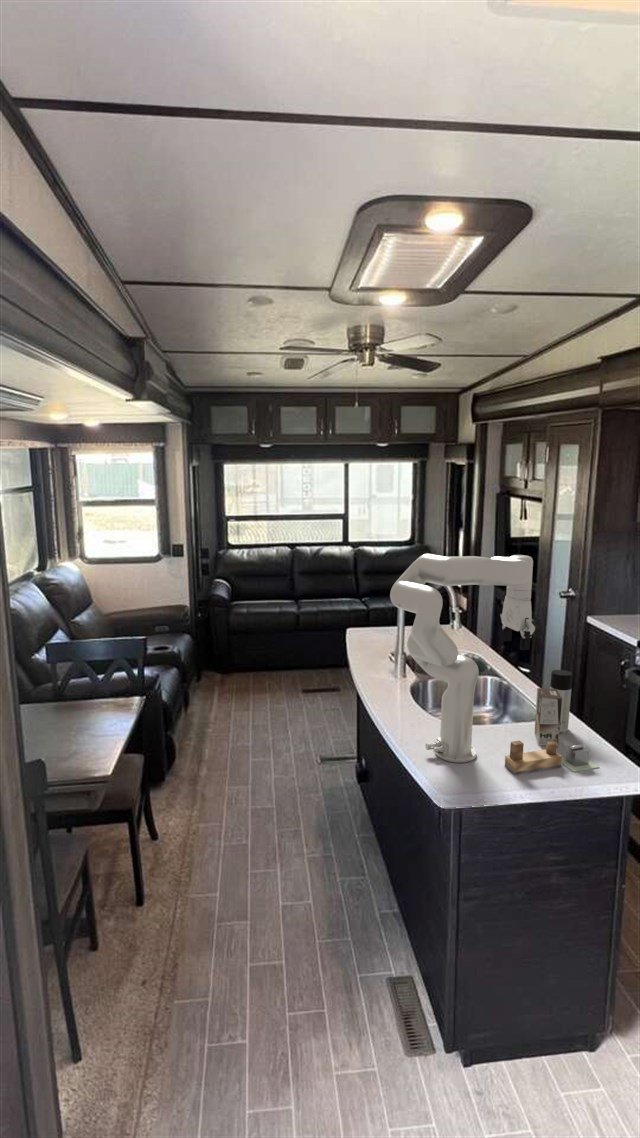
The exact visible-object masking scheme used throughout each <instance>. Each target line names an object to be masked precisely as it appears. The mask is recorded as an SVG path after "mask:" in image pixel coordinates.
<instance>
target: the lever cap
mask: <svg viewBox="0 0 640 1138" xmlns="http://www.w3.org/2000/svg"><path fill="white" fill-rule="evenodd" d="M565 748H566V749H565V757H566V759H565V761H567V762H568V763H570V764H571V765H573V766H574V767H576V766H582V765H588V764H589V760H590V749H588V748H587V747H585V746H584V744H574V745H568V746H566V747H565Z"/></svg>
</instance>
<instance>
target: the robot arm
mask: <svg viewBox="0 0 640 1138" xmlns="http://www.w3.org/2000/svg"><path fill="white" fill-rule="evenodd" d="M533 567H534V560H533V557H532V556H529V555H524V554H513V555H511V556H502V555H501V556H499V555H497V556H496V555H495V556H492V557H484V556H477V555H476V556H475V555H471V556H470V555H466V556H444V555H438V554H433V553H424V554H422V555H420V556H419V557H418V558H416V560H414V561H413V562H412V563H411V564H410V565H409V567H407V568H406V570H404V572H403V573H402V574H401V575H400V576H399V578H398V579H397V580H396V581H395V582H394V584H393V585H392V587H391V589H390V593H389V598H390V602H391V603H392V605H393V606H394V607H396V608H398V609H400V610H402V611H406V612H408V613H409V612H410V613H414V614H415V618H414V620H413V625H412V626H411V627H412V628H411V633H410V634H409V636H408V638H407V646H406V647H407V651H408V653H409V655H410V656H411V658H413V660H414V661H415V663H417V664H418V666H419V667H420V668H421V669H422V670H423V671H424V672H425V673H426V674H427V675H429V676H430V677H432V678H434V679H436V680H439V681H441V682H444V683H446V684H447V688H446V689H445V690H444V692H443V693H442V696H441V704H440V705H441V708H440V709H441V710H440V733H439V734H440V736H439V737H437V738H436V741H434V742H429V743H425V750H426V751H430V750H432V751H433V753H435V755H436V756H437V757H438V758H439V759H441V760H444V761H447V762H450V763H456V764H457V763H459V764H461V763H462V764H463V763H468V762H472V761H474V760H475V759H476V758H477V750H476V748H475V747H474V746H473V745H472V743H473V721H474V720H473V718H474V700H475V692H476V691H475V690H476V687H477V686H476V685H477V682H478V678H479V672H480V671H479V667H478V665H477V663H476V662H475V660H473V659H472V658H470V657H468V656H467V655H463V654H460V653H459V651H458V647H457V645H456V643H455V642H454V640H453V639H452V638H451V637H450V636H449V634H448V633H447V632H446V631H445V630H444V628H443V627H442V625H441V624H440V618H441V613H442V609H443V605H444V604H443V603H444V602H443V596H442V595H441V593H440V591H439V590H437V588H435V587H433V586H431V585H426V583H429V584H433V585H434V584H435V585H438V586H443V587H454V586H473V585H477V586H505V587H506V595H505V597H504V601H503V605H502V613H500V614H499V615H500V623H501V625H502V626H501V628H502V642H512V641H513V640H512V639H513V631H516V632H520V636H521V637H520V641H519V650H521V651H527V650H528V651H529V650H530V647H531V638H532V636H533V635H534V632H535V631H536V626H535V625H534V624H533V622H532V620H533V619H532V613H533V612H532V601H531V599H532V587H533Z"/></svg>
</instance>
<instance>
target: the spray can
mask: <svg viewBox="0 0 640 1138" xmlns="http://www.w3.org/2000/svg"><path fill="white" fill-rule="evenodd" d="M572 685H573V673H572V672H571V671H568V670H567V669H566V670H565V669H553V670H552V671H551V674H550V683H549V689H557V691H558V692H559V694H560V696H561V698H562V706H561V718H560V731H559V734H561V733H562V734H563V733H564V734H565V733H566V732H568V729H569V724H570V723H569V722H570V721H569V720H570V712H571V711H570V709H571V708H570V707H571V697H572V689H573V688H572Z"/></svg>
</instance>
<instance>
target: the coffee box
mask: <svg viewBox="0 0 640 1138" xmlns="http://www.w3.org/2000/svg"><path fill="white" fill-rule="evenodd" d="M535 700H536V701H535V702H536V703H535V716H534V717H535V719H534V736H535V739H536V742H537V744H538V746H546V747H547V742H555V743H556V744H557V747H559V742H560V733H559V731H560V718H561V706H562V698H561V696H560V694H559V692H558V691H557V689H550V688H542V687H541V688H538V687H537V689H536V699H535Z"/></svg>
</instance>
